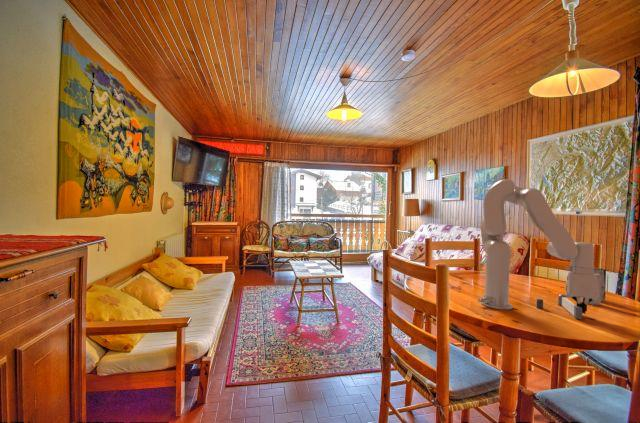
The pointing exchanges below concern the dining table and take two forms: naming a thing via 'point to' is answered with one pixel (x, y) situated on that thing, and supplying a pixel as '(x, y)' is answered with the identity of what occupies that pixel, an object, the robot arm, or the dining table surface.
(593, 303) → the energy drink can
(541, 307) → the stop post
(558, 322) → the dining table surface
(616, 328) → the dining table surface
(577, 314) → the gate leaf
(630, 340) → the dining table surface
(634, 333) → the dining table surface
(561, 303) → the gate post
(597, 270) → the coffee box
